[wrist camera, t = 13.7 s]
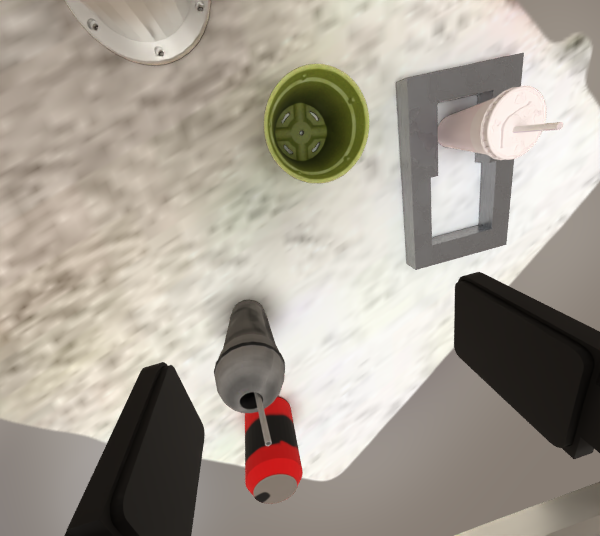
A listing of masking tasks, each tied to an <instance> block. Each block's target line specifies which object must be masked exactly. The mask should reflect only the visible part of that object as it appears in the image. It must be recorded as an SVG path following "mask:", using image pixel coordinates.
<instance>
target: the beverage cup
mask: <svg viewBox="0 0 600 536" xmlns="http://www.w3.org/2000/svg"><path fill="white" fill-rule="evenodd" d="M284 373H285V361H284V359H283V357H282V355H281V353H280V352H279V350H278V348H277V346H276V345H275V341H274V338H273V335H272V332H271V329H270V326H269V322H268V319H267V316H266V314H265V312H264V309H263V307H262V305H261V304H260V303H258V302H256V301H253V300H244V301H242V302H239V303H238V304H237V305H236V306H235V307H234V309H233V312H232V314H231V318H230V322H229V326H228V330H227V335H226V339H225V343H224V347H223V350H222V351H221V354H220V356H219V359H218V361H217V362H216V365H215V369H214V374H215V380H216V386H217V391H218V393H219V395H220V397H221V398H222V400H223V401H224V403H225V404H226V405H228V406H229V407H230V408H232V409H233V410H235V411H238V412H241V413H254V412H258V413H259V418H260V422H261V427H262V432H263V436H264V441H265V445H266V446H269V445H271V443H272V442H271V437H270V433H269V429H268V424H267V420H266V416H265V412H264V409H265V408H266V407H268V406H269V405H270V404H272V403H273V402H274V400H275V399H276V398H277V396H278V395H279V393H280V391H281V388H282V385H283V382H284Z"/></svg>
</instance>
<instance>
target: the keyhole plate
mask: <svg viewBox="0 0 600 536" xmlns="http://www.w3.org/2000/svg"><path fill="white" fill-rule="evenodd" d="M523 56H524V53H520V54H515V55H511V56H506V57H501V58H497V59H492V60H487V61H483V62H478V63H473V64H469V65H464V66H459V67H455V68H450V69H445V70H441V71H436V72H431V73H427V74H422V75H417V76H413V77H408V78H405V79H403V80H401V81H399V82H397V83H396V94H397V111H398V127H399V144H400V161H401V177H402V194H403V211H404V227H405V244H406V261H407V264H408V265H409V266H411V267H412V268H414V269H415V270H417V269H421V268H424V267H428V266H431V265H435V264H438V263H442V262H446V261H449V260H453V259H456V258H460V257H463V256H467V255H471V254H474V253H478V252H481V251H485V250H488V249H492V248H496V247H499V246H503V245H506V241H507V230H508V219H509V209H510V198H511V187H512V176H513V165H514V159H510V160H497V159H493V158H492V157H490V156H488V155H486V154H481V153H475V162H480V163H482V169H481V189H480V209H479V225H477V226H473V227H470V228H466V229H462V230H458V231H455V232H451V233H447V234H444V235H440V236H436V237H433V238H432V225H431V177H435V176H438V125H437V103H440V102H444V101H449V100H453V99H458V98H462V97H466V96H471V95H475V94H478V102H477V105H478V104H480V103H483V102H485V101H488V100H490V99H493V98H496V97H497V96H498V95H499V94H501V93H502V92H503V91H505V90H508V89H510V88H514V87H521V78H522V67H523Z"/></svg>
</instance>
